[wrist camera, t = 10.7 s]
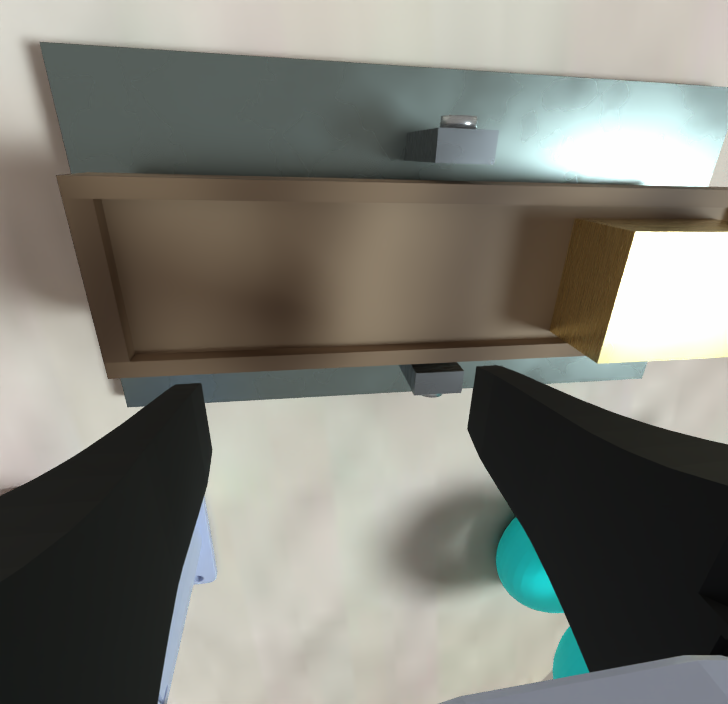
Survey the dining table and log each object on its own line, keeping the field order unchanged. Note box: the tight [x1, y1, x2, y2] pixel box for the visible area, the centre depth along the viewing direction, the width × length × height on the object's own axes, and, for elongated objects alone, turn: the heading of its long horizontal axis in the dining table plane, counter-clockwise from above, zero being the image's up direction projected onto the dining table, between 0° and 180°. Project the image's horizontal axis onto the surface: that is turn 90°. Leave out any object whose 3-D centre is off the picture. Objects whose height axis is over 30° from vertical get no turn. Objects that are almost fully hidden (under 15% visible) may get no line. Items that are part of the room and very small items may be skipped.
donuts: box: [496, 517, 589, 679], centre depth 26 cm, size 10×10×10 cm
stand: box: [40, 42, 728, 407], centre depth 18 cm, size 27×14×5 cm, turn 88°
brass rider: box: [549, 218, 728, 364], centre depth 15 cm, size 6×4×3 cm
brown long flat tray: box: [56, 172, 728, 379], centre depth 16 cm, size 24×6×2 cm, turn 88°
